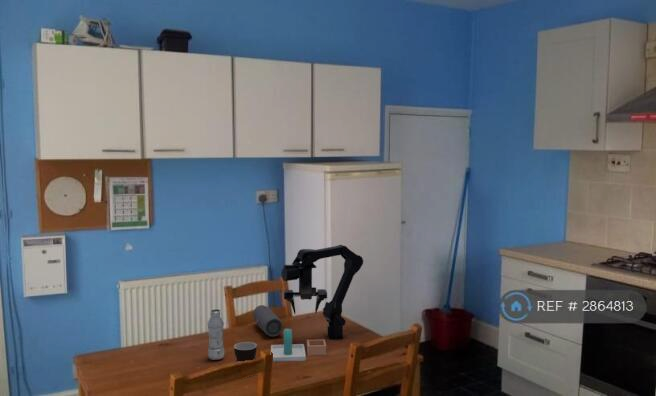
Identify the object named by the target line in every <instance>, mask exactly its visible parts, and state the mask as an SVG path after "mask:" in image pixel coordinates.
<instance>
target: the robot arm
mask: <svg viewBox="0 0 656 396" xmlns="http://www.w3.org/2000/svg"><path fill="white" fill-rule="evenodd" d="M337 256H340V257H342V259H344V263H343V269H344V270H343V273H342V275H341V278H340V281H339V283H338V285H337V287H336V290H335V292H334V294H333V297H332V299H331V300H330V301H329V302H328V301H326V302H325V304H324V307H323V308H322V315H323V317H324V318H325V320H326V322H327V323H328V325H327V327H326V335H327V337H328V339H329V340H337V339H338V340H342V339H344V336H343V335H344V334H343V333H344V327H343V326H345V324H346V319H344V317H343V316H342V313H343V302H344V300H345V298H346V296H347V293H348V290H349V288H350V286H351V284H352V281H353V279H354V276H355V275H356V274H357V273H358V272H359V271H360V270H361V268H362V266H363V265H364V258H363V257H362V256H361V255H359V254H356V253H355V252H354V251H352V250H351V249H350V248H349V247H347V246H346V245H343V244H339V245H338V244H337V245H335V246H329V247H324V248H319V249H312V248H301V249H300V250H298V252H297V254H296V257H295V258H294V259H293V261H292V263H291V264H284V265H283V267H282V269H281V274H280V275H281V279H282V281H283V282H287V281H298V291H294V290H293V289H284V291H283V299H284V300H286V301H287V302H289V303H290V305H291V307H292V311H293V312H294V313H293V314H294V315H296V305H295V298H296V297H297V298H300V299H301V300H309V301H310V300H312V298H313V297H315V299H316V300H315V308H314V311H315V314H317V312H318V310H319V307H320V304H321V302H323V301H324V300H325V299H328V292H327V290H326V289H325V288H324V289H322V288H321V289H317V287H313V269H317V266H316V264H315V263H317V261H319V260H322V259H326V258H331V257H337Z"/></svg>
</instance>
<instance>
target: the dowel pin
mask: <svg viewBox="0 0 656 396" xmlns="http://www.w3.org/2000/svg"><path fill="white" fill-rule="evenodd" d="M292 344H293V329H291V328H284V329H283V345H284V354H285V355H291V354H292Z"/></svg>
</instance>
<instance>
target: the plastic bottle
mask: <svg viewBox="0 0 656 396" xmlns="http://www.w3.org/2000/svg"><path fill="white" fill-rule="evenodd" d="M207 330H208V339H209V340H208V350H207V356H208V359H210V360H212V361H219V360H222V359H223V357H224V356H225V348H224V343H223V342H224V341H223V336H224V335H223V332H224V320H223V318H222V317H221V309H217V308H216V309H211V310H210V318H209V319H208V321H207Z"/></svg>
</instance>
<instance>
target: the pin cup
mask: <svg viewBox="0 0 656 396" xmlns="http://www.w3.org/2000/svg"><path fill="white" fill-rule="evenodd" d="M306 352H307V356H308V357H311V356H312V357H314V356H316V357H317V356H327V344H326V340H325V339H306Z"/></svg>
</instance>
